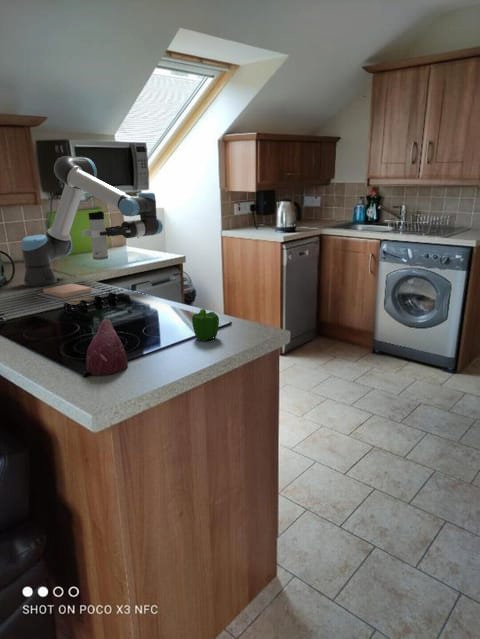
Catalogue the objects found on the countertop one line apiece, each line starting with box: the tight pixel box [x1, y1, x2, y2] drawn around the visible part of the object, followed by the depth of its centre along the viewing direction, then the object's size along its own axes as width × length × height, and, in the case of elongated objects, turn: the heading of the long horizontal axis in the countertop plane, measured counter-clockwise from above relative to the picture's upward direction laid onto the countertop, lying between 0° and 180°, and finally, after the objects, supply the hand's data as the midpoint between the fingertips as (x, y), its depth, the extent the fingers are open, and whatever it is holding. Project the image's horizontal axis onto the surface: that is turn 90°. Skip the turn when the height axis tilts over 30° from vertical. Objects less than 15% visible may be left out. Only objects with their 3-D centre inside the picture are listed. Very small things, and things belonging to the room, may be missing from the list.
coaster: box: [65, 296, 95, 306], centre depth 190 cm, size 12×12×1 cm
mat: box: [36, 287, 105, 301], centre depth 208 cm, size 22×20×1 cm
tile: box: [43, 282, 92, 298], centre depth 206 cm, size 2×16×14 cm
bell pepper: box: [191, 308, 220, 341], centre depth 142 cm, size 8×8×10 cm
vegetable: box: [85, 316, 129, 377], centre depth 122 cm, size 10×10×15 cm
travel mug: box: [88, 210, 109, 261], centre depth 196 cm, size 6×7×20 cm
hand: (87, 233), depth 192 cm, fingers closed on travel mug, 6 cm apart
